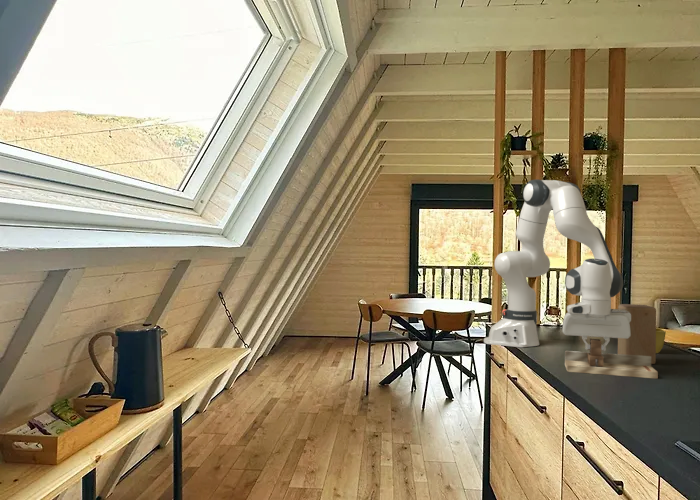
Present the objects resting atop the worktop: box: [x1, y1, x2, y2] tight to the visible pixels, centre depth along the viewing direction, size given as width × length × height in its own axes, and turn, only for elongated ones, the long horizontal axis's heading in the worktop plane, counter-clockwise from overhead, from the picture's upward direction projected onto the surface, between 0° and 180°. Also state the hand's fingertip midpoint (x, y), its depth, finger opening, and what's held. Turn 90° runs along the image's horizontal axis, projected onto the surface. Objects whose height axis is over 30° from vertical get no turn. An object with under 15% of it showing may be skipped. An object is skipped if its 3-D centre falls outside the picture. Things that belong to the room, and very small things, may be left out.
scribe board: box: [564, 350, 659, 380], centre depth 170 cm, size 26×10×5 cm, turn 72°
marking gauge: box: [587, 338, 603, 367], centre depth 170 cm, size 4×7×8 cm, turn 162°
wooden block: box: [617, 303, 657, 365], centre depth 186 cm, size 10×10×20 cm
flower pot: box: [656, 327, 666, 354], centre depth 203 cm, size 9×9×9 cm
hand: (595, 350), depth 170 cm, fingers closed on marking gauge, 3 cm apart
